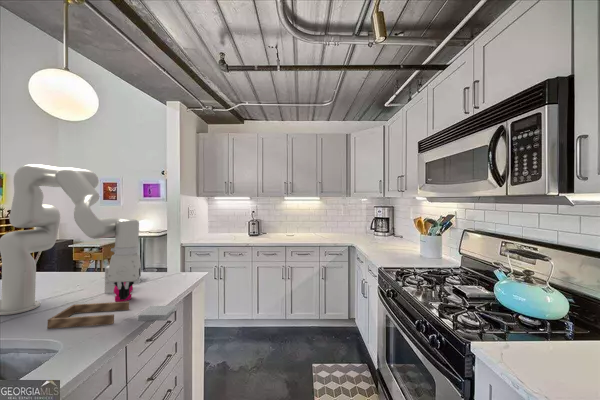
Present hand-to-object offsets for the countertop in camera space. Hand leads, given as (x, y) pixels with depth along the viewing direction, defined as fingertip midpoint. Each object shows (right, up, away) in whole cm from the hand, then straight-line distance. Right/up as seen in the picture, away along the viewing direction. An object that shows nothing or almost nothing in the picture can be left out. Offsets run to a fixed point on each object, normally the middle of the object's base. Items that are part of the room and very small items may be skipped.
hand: (123, 298), depth 103 cm
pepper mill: (-11, -7, +17) cm, 21 cm away
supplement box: (-22, -7, +28) cm, 36 cm away
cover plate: (+13, -7, 0) cm, 15 cm away
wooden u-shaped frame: (-10, -6, -2) cm, 12 cm away
